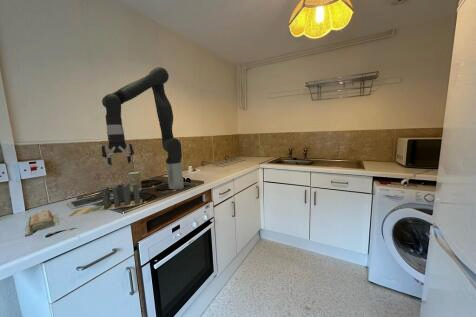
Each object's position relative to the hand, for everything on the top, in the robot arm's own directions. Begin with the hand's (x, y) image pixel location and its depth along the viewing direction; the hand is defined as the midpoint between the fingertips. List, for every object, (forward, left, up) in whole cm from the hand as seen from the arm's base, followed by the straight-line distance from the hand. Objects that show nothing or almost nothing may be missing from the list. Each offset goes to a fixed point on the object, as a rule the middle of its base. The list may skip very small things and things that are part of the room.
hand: (120, 163), depth 103 cm
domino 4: (-3, +8, -20) cm, 22 cm away
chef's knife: (+14, +24, -22) cm, 35 cm away
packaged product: (+29, +15, -22) cm, 39 cm away
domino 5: (-7, +8, -20) cm, 23 cm away
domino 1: (+6, +8, -20) cm, 23 cm away
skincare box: (-3, -22, -22) cm, 31 cm away
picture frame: (+18, -10, -22) cm, 30 cm away
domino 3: (0, 0, -21) cm, 21 cm away
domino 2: (+2, +8, -20) cm, 22 cm away
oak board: (+6, +8, -21) cm, 24 cm away
